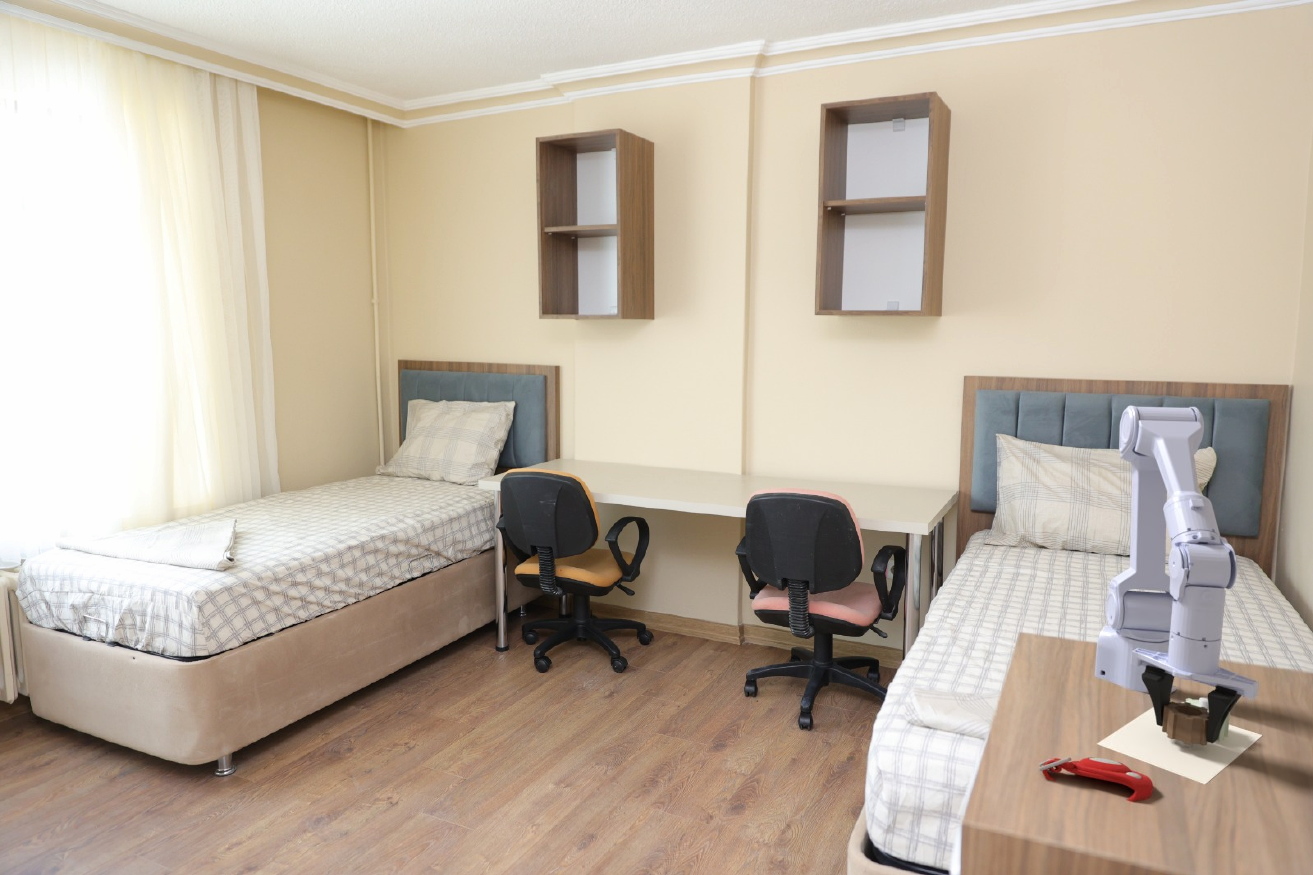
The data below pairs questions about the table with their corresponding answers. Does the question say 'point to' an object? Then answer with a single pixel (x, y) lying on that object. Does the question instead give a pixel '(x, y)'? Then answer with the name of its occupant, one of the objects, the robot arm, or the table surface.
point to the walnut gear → (1185, 723)
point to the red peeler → (1102, 773)
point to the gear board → (1180, 746)
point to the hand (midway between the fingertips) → (1186, 731)
